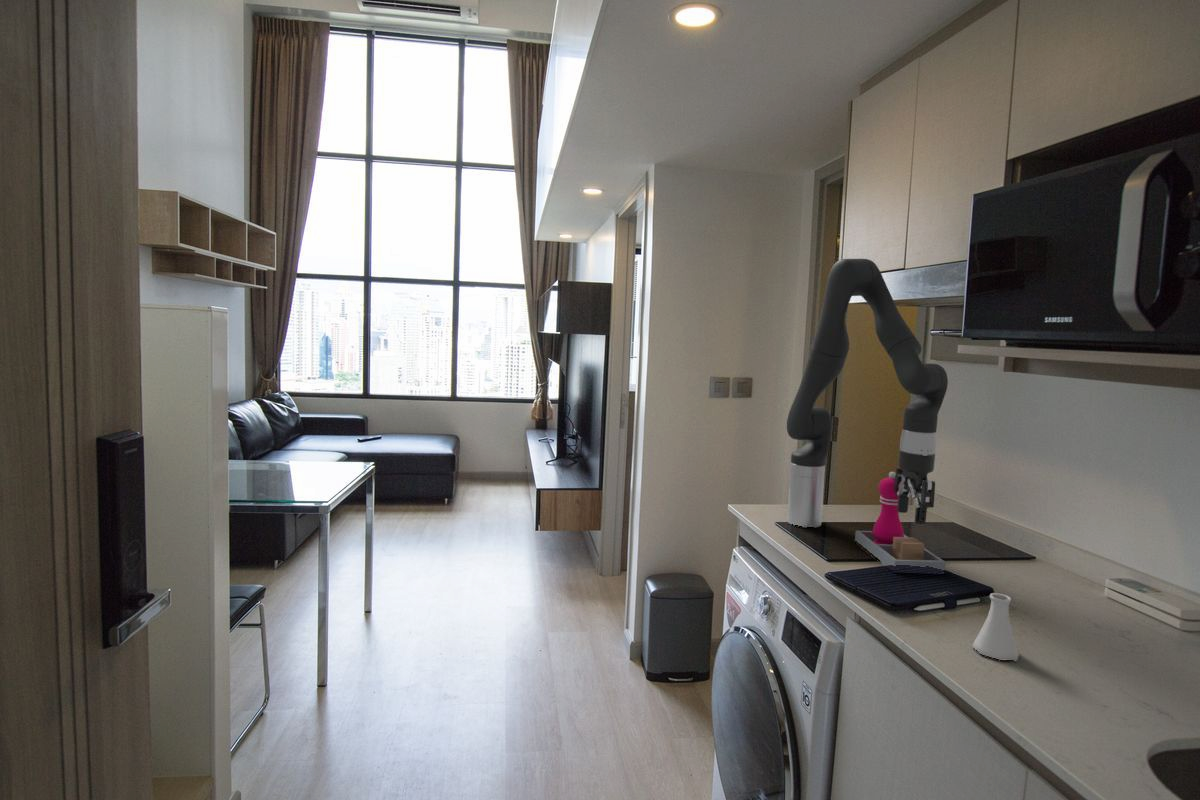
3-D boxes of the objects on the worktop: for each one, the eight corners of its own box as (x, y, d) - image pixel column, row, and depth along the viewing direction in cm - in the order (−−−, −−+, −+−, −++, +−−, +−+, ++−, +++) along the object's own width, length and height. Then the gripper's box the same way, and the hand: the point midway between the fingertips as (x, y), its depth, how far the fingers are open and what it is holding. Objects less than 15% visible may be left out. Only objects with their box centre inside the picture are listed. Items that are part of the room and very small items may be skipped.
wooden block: (891, 561, 160) (893, 536, 160) (912, 561, 160) (914, 537, 160) (900, 568, 155) (903, 543, 155) (922, 569, 156) (924, 544, 155)
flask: (1024, 666, 111) (1030, 608, 110) (975, 657, 113) (980, 600, 112) (1014, 647, 118) (1020, 592, 116) (968, 639, 120) (973, 585, 119)
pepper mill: (872, 552, 166) (878, 473, 164) (870, 543, 173) (875, 467, 171) (904, 556, 164) (910, 476, 162) (900, 547, 171) (906, 470, 169)
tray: (854, 541, 174) (855, 530, 174) (898, 542, 174) (899, 531, 174) (893, 573, 152) (894, 560, 152) (944, 574, 152) (945, 561, 152)
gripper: (887, 443, 162) (881, 508, 164) (916, 455, 148) (909, 527, 150) (918, 444, 162) (911, 509, 164) (950, 456, 148) (942, 527, 150)
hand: (910, 517), depth 157 cm, fingers open, 8 cm apart
